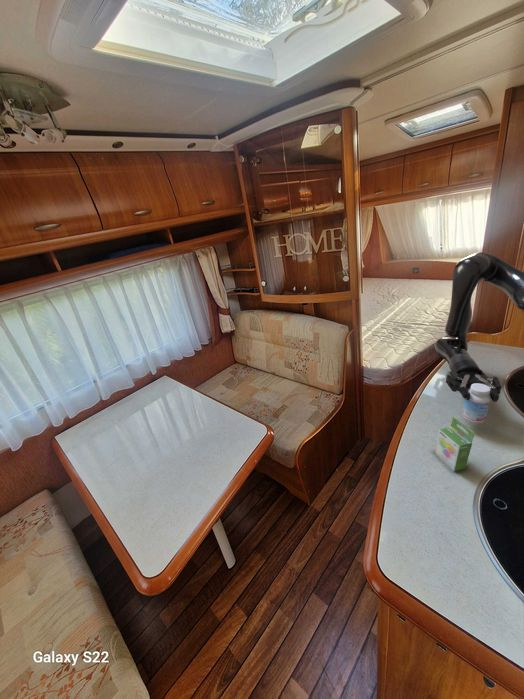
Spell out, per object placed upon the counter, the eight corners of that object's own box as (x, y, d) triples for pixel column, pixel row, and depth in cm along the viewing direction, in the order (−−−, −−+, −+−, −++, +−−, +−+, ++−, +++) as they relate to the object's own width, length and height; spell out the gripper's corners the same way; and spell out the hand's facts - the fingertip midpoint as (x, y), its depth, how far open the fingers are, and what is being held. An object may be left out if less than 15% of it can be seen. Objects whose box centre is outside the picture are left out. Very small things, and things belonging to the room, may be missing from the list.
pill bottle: (480, 426, 82) (489, 396, 77) (457, 416, 86) (464, 388, 81) (488, 416, 84) (497, 386, 79) (466, 407, 89) (472, 379, 84)
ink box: (434, 453, 81) (440, 419, 75) (446, 450, 81) (453, 416, 75) (453, 472, 75) (462, 437, 69) (465, 469, 75) (475, 433, 69)
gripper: (441, 358, 94) (455, 386, 80) (492, 359, 89) (516, 389, 75) (438, 376, 97) (451, 406, 83) (487, 378, 92) (509, 410, 78)
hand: (482, 398), depth 79 cm, fingers closed on pill bottle, 6 cm apart
